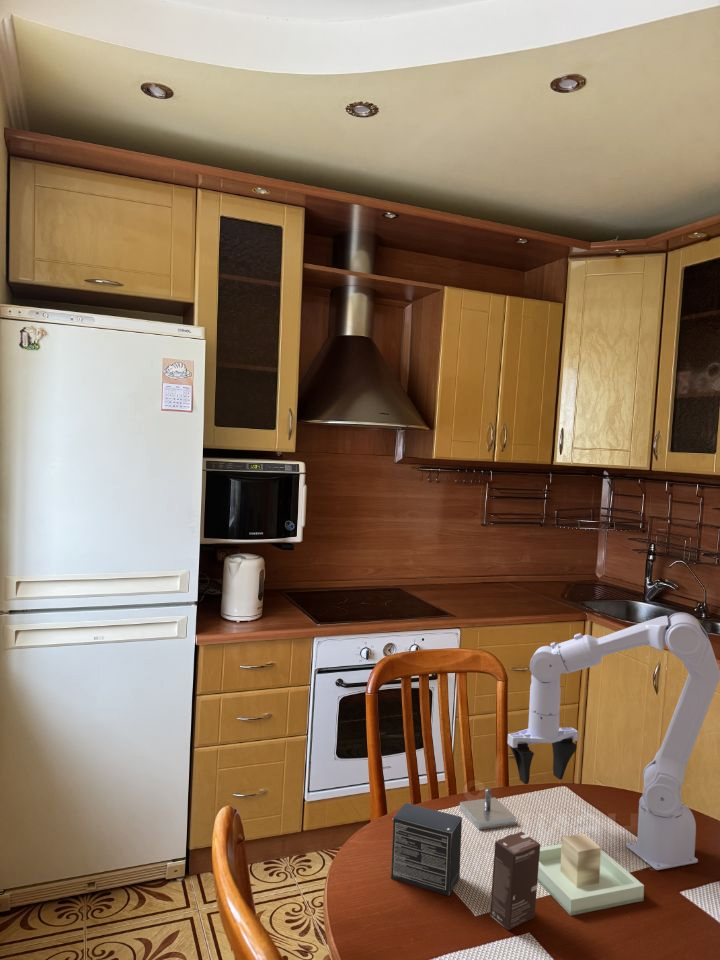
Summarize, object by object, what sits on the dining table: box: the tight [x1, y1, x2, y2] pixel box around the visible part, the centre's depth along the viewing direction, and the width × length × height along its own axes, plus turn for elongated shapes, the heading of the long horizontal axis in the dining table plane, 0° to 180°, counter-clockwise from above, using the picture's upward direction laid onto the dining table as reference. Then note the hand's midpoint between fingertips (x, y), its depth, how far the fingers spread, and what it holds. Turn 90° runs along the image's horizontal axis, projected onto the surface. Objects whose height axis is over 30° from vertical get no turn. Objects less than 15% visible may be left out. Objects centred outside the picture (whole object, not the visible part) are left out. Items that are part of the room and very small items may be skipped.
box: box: [489, 831, 541, 931], centre depth 106 cm, size 6×4×12 cm
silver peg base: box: [459, 787, 517, 831], centre depth 136 cm, size 8×8×6 cm
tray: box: [537, 843, 645, 916], centre depth 116 cm, size 14×14×2 cm
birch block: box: [560, 833, 602, 887], centre depth 116 cm, size 4×4×6 cm
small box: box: [390, 802, 463, 897], centre depth 115 cm, size 11×6×10 cm, turn 65°
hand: (541, 779), depth 132 cm, fingers open, 7 cm apart
